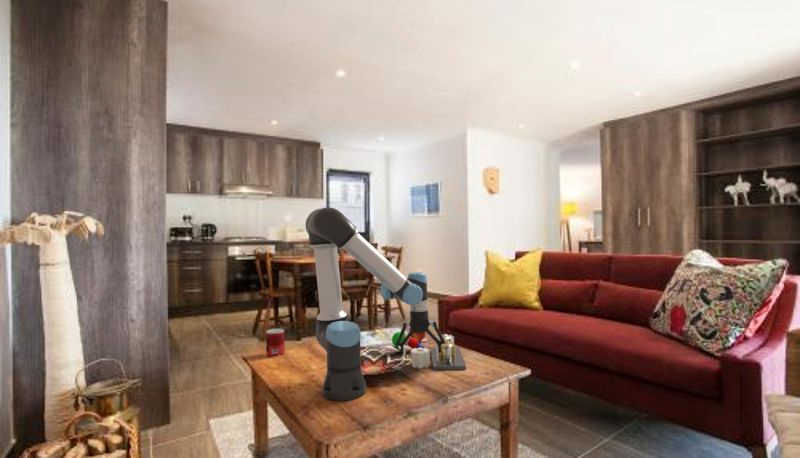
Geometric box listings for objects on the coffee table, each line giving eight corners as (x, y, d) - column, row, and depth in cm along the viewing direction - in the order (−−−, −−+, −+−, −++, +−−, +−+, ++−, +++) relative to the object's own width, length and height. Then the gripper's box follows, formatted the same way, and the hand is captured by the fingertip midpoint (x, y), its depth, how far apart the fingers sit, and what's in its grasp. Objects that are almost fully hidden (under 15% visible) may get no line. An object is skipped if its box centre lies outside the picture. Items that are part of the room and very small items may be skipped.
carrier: (433, 369, 161) (432, 348, 161) (430, 350, 186) (430, 332, 186) (466, 369, 160) (465, 348, 160) (458, 350, 185) (458, 332, 185)
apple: (418, 338, 208) (418, 318, 208) (428, 341, 201) (428, 321, 201) (406, 341, 203) (405, 321, 203) (416, 344, 196) (415, 324, 196)
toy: (413, 355, 191) (386, 341, 187) (421, 340, 192) (395, 326, 188) (419, 360, 183) (391, 346, 179) (427, 345, 184) (399, 330, 180)
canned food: (288, 353, 186) (287, 329, 186) (274, 358, 180) (273, 333, 180) (276, 350, 190) (276, 327, 190) (262, 355, 184) (262, 331, 184)
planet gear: (411, 368, 163) (410, 353, 163) (411, 361, 171) (410, 347, 171) (430, 368, 163) (430, 353, 163) (429, 361, 171) (429, 347, 171)
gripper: (388, 313, 164) (390, 365, 164) (450, 310, 163) (452, 363, 163) (389, 309, 171) (391, 359, 171) (448, 307, 170) (450, 357, 171)
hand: (421, 361), depth 167 cm, fingers open, 13 cm apart
